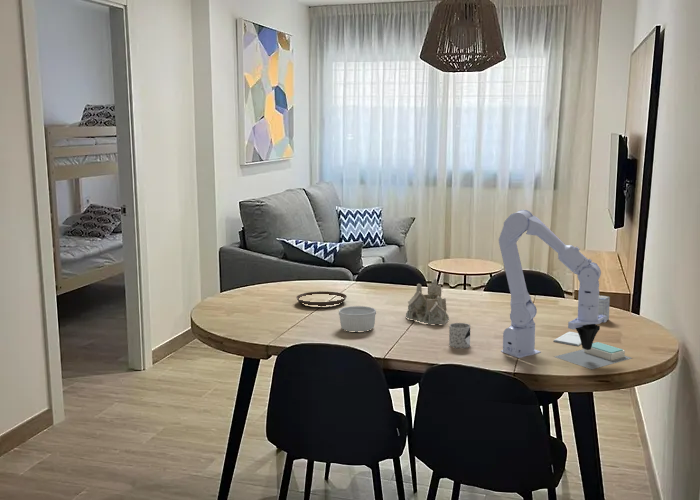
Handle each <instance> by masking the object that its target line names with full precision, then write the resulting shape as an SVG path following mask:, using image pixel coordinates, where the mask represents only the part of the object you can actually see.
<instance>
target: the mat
mask: <svg viewBox="0 0 700 500" xmlns="http://www.w3.org/2000/svg"><path fill="white" fill-rule="evenodd" d="M553 357H554V358H557V359H558V360H562V361H565V362H569V363H571V364H574V365H577V366H580V367H583V368H586V369H589V370H591V371H592V370H596V369H599V368H602V367H607V366H610V365H613V364H617V363H620V362H624V361H628V360H631V359H633V357H631V356H628V355H625V357H622V358H619V359H615V360H608V359H605V358H602V357H599V356H595V355H592V354H589V353H586V352H584V349H583V348H582V349H579V350H575V351H570V352H567V353H563V354H559V355H555V356H553Z"/></svg>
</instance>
